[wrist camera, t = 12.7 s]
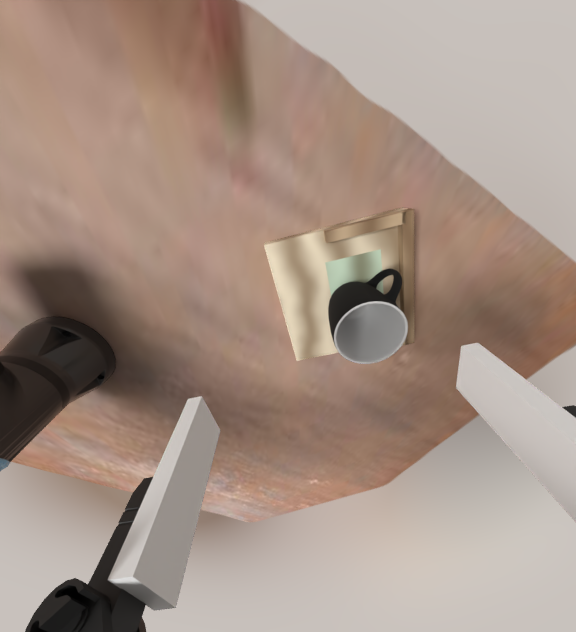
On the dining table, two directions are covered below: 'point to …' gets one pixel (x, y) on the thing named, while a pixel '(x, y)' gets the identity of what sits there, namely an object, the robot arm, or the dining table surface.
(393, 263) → the board
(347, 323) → the mug
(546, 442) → the robot arm
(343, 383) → the dining table surface
